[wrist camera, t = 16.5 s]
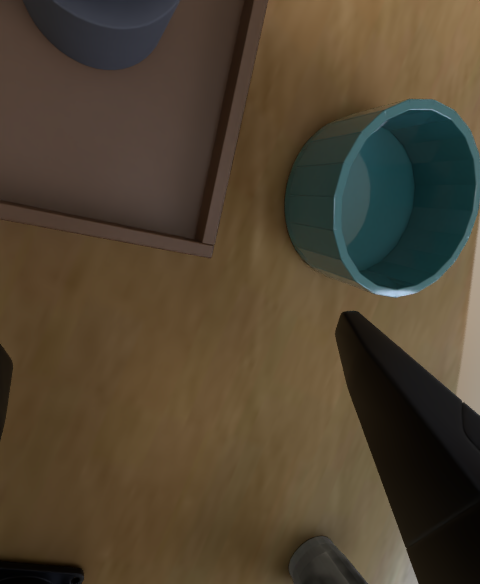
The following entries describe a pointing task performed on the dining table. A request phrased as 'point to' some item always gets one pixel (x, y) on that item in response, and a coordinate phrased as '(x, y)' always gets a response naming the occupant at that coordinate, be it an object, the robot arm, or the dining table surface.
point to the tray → (127, 128)
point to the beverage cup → (322, 564)
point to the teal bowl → (385, 196)
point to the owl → (103, 28)
